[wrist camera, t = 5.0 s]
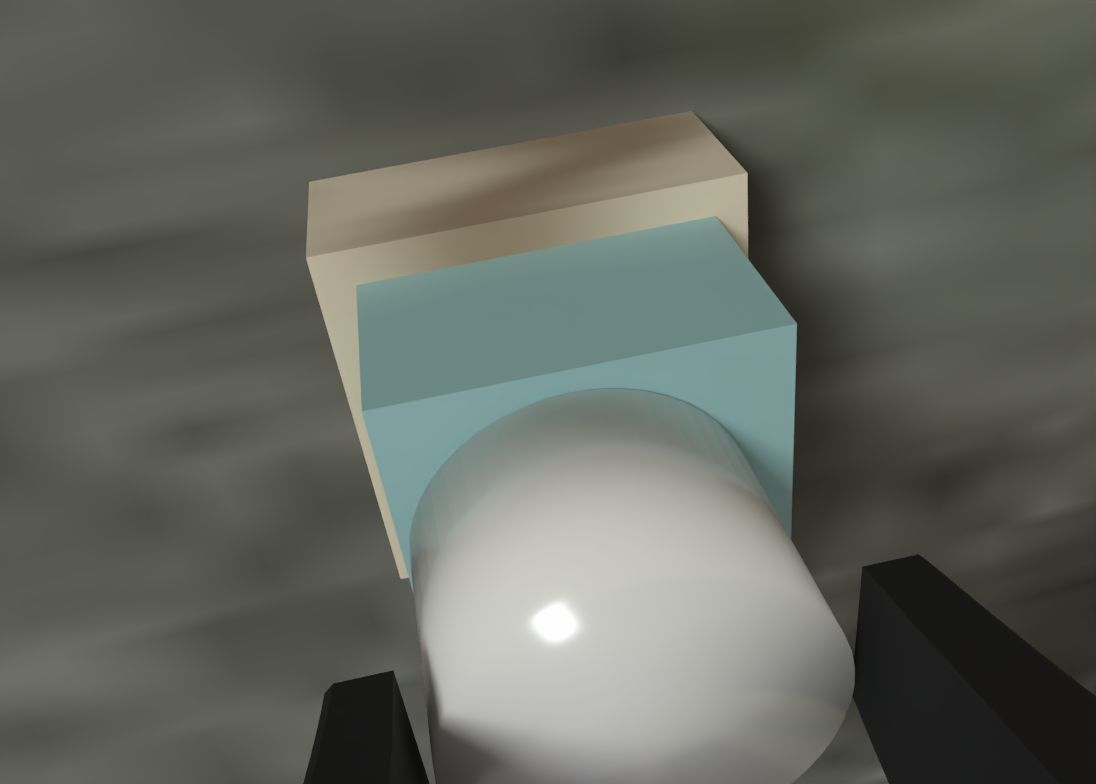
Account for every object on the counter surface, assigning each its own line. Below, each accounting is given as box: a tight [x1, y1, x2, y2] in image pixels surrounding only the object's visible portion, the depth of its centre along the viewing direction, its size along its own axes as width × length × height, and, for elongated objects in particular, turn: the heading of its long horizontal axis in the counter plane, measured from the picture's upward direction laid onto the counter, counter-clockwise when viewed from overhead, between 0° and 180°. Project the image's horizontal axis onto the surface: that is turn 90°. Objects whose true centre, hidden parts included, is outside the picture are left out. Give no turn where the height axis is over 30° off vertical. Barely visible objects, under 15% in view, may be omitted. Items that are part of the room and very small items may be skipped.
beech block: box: [306, 111, 748, 579], centre depth 16 cm, size 6×6×3 cm
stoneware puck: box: [409, 389, 855, 784], centre depth 11 cm, size 4×4×3 cm
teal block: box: [356, 216, 797, 594], centre depth 14 cm, size 5×5×3 cm
